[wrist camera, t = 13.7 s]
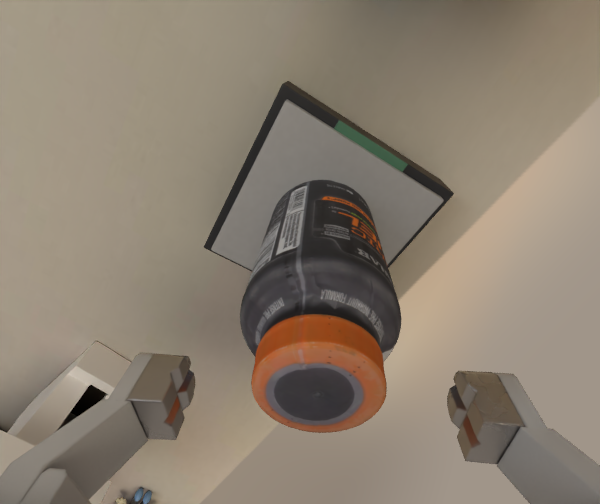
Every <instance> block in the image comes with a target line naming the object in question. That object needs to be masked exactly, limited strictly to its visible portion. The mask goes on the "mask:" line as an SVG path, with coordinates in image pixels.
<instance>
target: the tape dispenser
mask: <svg viewBox="0 0 600 504" xmlns="http://www.w3.org/2000/svg"><path fill="white" fill-rule="evenodd" d="M130 364H131V362H130V361H128V360H127V359H125V358H123V357H122V356H120V355H119V354H117V353H115V352H114V351H112V350H111V349H109V348H107V347H106V346H104V345H103V344H101V343H99V342H98V341H95V342H94V343H93V344H92V345H91V346H90V347H89V348H88V349H87V350H86V351H85V352H84V353H83V354H82V355H80V356H79V357H78V358H77V359H76V360H75V361H74V362H73V363H72V364H71V365H70V366H69V367H68V368H67V369H66V370H64V371H63V372H62V373H61V374H60V375H59V376H58V377H57V378H56V379H55V380H54V381H53V382H52V383H51V384H50V385H48V386H47V387H46V388H45V389H44V390H43V391H42V392H41V393H40V394H39V395H38V396H37V397H36V398H35V399H34V400H33V401H32V402H31V403H30V405H29V406H28V407H27V408H26V409H25V410H24V412H23V413H22V414H21V415H20V416H19V417H18V419H17V420H16V421H15V422H14V425H13V426H12V427H11V428H10V430H9V431H8V432H7V433H6V432H4V431H2V430H0V476H1V475H2V474H3V472H4V471H5V470H6V468H7V467H8V466H9V465H10V463H11V462H13V461H14V460H16V459H17V458H19V457H20V456H21V455H23V454H24V453H26V452H27V451H29V450H30V449H32V448H33V447H34V446H36V445H37V444H39V443H40V442H42V441H43V440H45V439H46V438H47V437H49V436H50V435H52V434H53V433H55V432H56V431H58V430H59V429H60V428H62V427H63V426H65V425H66V424H68V423H69V422H71V421H72V420H73V419H75V418H76V417H77V416H75V415H74V414H72V413H70V412H71V410H72V409H73V408H74V406H75V405H76V403H77V402H78V401H79V399H80V398H81V396H82V395H83V394H84V392H85V391H86V389H87V388H88V387H89V386H90V385H93V386H94V387H96V388H98V389H100V390H101V391H103V392H105V393H106V395H105V396H104V398H103V399H108V398H109V396H110V395H111V393H112V392H113V390H114V389H115V387H116V386H117V384H118V382H119V381H120V379H121V378H122V376H123V375H124V373H125V372H126V370H127V369H128V367H129V365H130ZM110 484H111V481H109V480H108V481H107V482H106V483H105V484H104V485H103V486H102V487H101V488H100V489H99V490H98V491H97V492H96V493H95V494H94V495H93V496H92V497H91V498H90V499H89V501H90V502H91V504H101V502H102V500H103V498H104V496H105V494H106V492H107V490H108V488H109V486H110Z"/></svg>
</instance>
